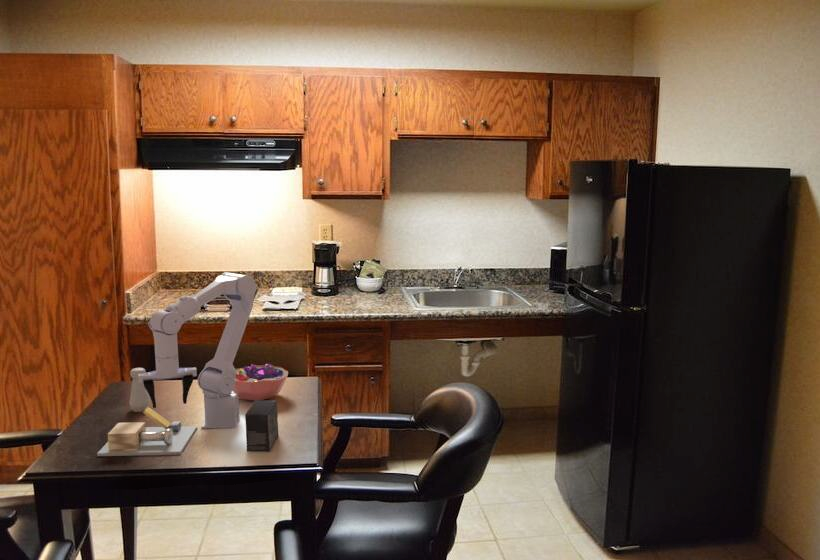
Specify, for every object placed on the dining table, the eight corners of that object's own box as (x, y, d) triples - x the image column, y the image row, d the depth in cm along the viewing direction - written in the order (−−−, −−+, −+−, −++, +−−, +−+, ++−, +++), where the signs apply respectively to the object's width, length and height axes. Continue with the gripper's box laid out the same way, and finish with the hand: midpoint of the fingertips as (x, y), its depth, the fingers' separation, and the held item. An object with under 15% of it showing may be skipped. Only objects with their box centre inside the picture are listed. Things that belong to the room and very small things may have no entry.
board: (197, 428, 190) (197, 426, 189) (180, 454, 173) (180, 451, 173) (121, 430, 188) (121, 427, 188) (97, 456, 172) (97, 453, 171)
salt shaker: (143, 414, 201) (140, 372, 198) (125, 412, 202) (123, 371, 199) (154, 407, 206) (151, 366, 204) (137, 405, 207) (134, 365, 205)
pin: (173, 440, 179) (172, 426, 179) (168, 446, 175) (168, 432, 175) (126, 441, 179) (125, 427, 178) (121, 447, 175) (120, 433, 174)
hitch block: (146, 438, 181) (145, 422, 180) (136, 450, 173) (135, 433, 172) (119, 439, 180) (118, 422, 179) (108, 451, 173) (107, 433, 172)
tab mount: (181, 427, 188) (180, 421, 188) (178, 432, 185) (177, 425, 185) (173, 428, 188) (173, 421, 188) (170, 432, 185) (170, 425, 185)
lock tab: (171, 426, 188) (173, 424, 188) (167, 431, 185) (169, 428, 185) (146, 408, 187) (148, 406, 187) (142, 413, 183) (144, 410, 183)
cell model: (234, 388, 224) (233, 356, 222) (294, 390, 223) (293, 357, 221) (218, 406, 207) (217, 371, 205) (282, 408, 206) (281, 372, 204)
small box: (255, 435, 185) (254, 399, 184) (279, 436, 185) (278, 399, 183) (245, 451, 175) (243, 413, 173) (270, 452, 175) (268, 413, 173)
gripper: (193, 348, 184) (195, 396, 186) (136, 354, 178) (139, 403, 180) (196, 355, 177) (199, 404, 180) (137, 361, 171) (141, 412, 174)
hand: (169, 404), depth 180 cm, fingers open, 7 cm apart
